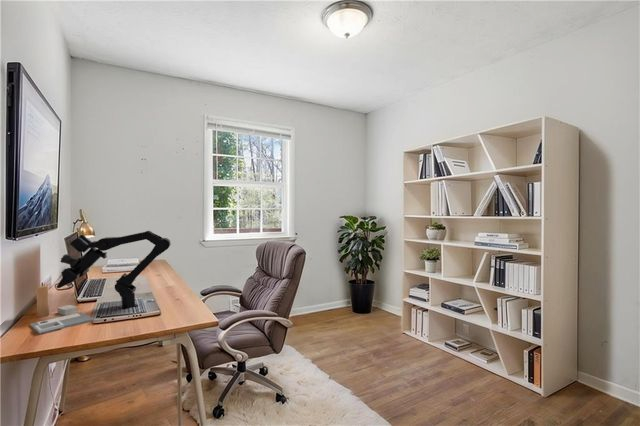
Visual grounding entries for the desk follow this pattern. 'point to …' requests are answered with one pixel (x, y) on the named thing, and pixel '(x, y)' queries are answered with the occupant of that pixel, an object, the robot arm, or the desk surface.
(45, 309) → the pin
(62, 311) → the cover
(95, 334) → the desk surface
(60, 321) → the board
